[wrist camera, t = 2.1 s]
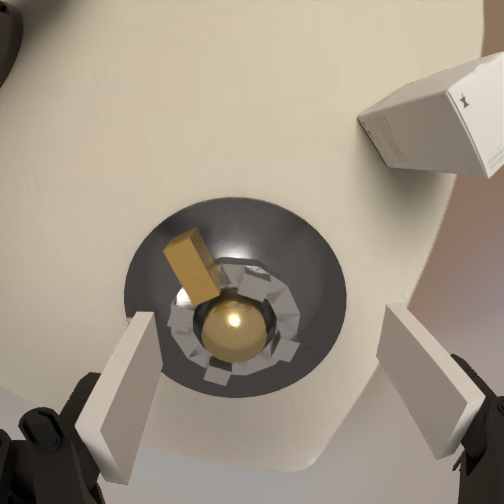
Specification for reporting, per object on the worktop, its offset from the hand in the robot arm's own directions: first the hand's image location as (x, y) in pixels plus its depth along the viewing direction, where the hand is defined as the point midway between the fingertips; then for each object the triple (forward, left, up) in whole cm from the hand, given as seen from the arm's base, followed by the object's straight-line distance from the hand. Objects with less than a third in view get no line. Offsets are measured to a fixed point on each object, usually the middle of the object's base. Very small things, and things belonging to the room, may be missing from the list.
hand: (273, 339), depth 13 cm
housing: (-1, -9, -20) cm, 22 cm away
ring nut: (-2, -7, -18) cm, 20 cm away
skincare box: (+14, +13, -20) cm, 28 cm away
